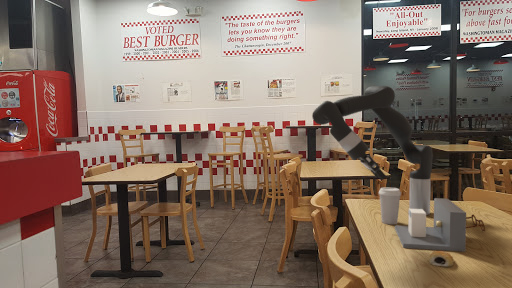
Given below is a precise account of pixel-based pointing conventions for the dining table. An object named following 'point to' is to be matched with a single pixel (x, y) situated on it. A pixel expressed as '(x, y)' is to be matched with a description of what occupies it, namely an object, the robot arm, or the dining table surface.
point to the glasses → (476, 223)
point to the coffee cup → (389, 204)
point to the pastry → (441, 259)
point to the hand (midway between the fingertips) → (381, 177)
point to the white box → (417, 223)
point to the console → (439, 229)
